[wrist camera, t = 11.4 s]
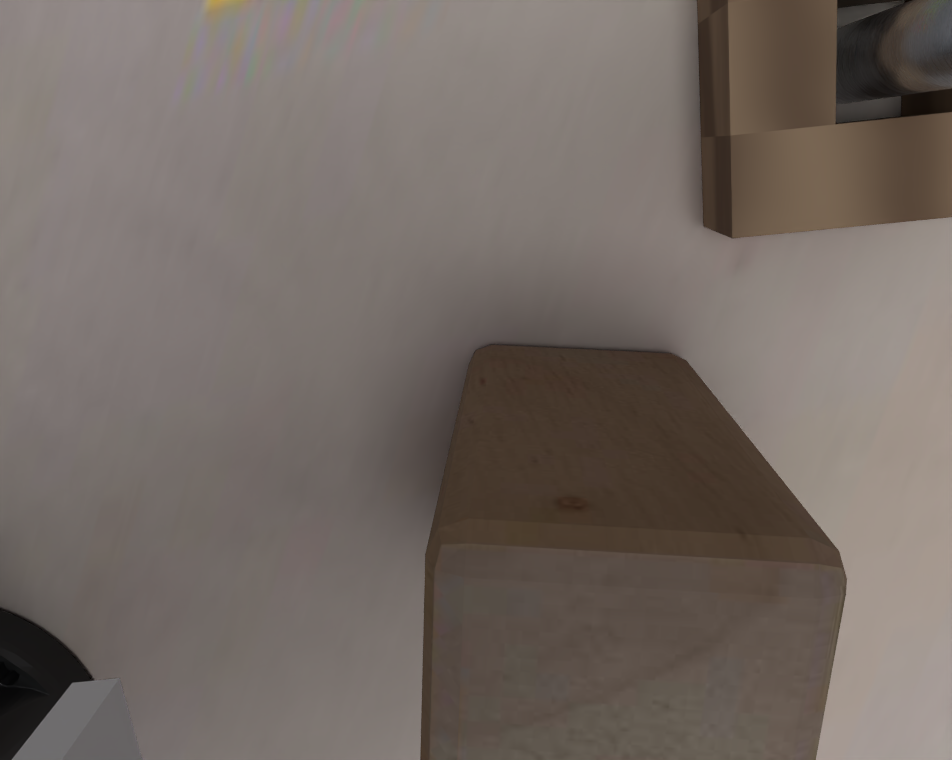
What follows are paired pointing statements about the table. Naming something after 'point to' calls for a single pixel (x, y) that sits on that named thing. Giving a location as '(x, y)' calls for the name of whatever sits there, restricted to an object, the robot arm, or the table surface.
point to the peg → (895, 52)
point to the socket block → (806, 129)
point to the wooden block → (619, 573)
